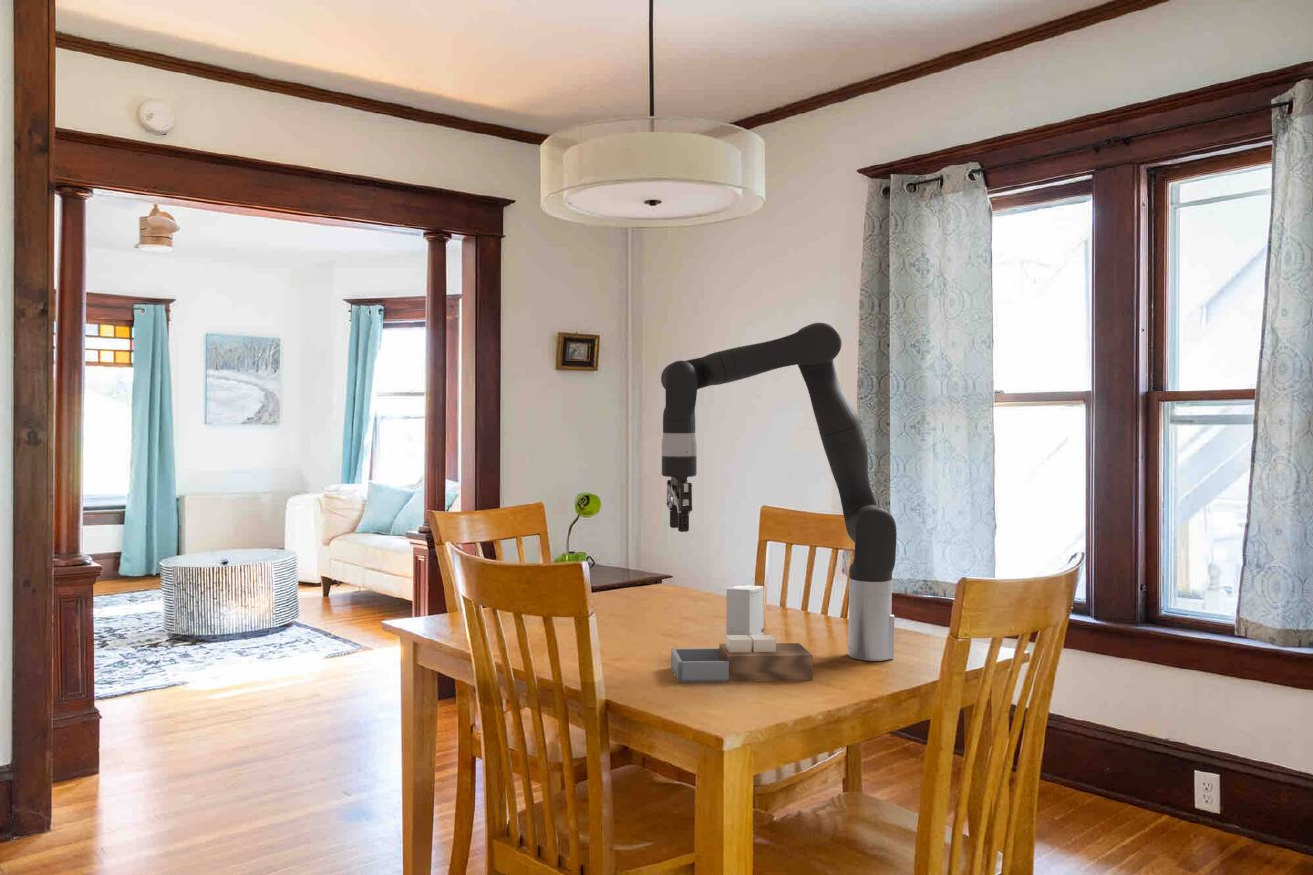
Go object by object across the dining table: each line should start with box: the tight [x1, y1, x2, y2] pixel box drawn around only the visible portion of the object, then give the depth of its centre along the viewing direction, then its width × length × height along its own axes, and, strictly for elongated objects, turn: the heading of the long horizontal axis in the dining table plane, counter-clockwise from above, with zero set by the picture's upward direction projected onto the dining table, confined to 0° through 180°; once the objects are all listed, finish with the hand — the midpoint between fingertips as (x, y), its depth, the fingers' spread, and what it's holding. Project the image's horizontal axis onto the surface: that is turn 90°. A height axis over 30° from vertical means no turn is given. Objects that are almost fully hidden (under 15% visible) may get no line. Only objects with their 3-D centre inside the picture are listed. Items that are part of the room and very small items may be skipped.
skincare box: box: [725, 584, 765, 637], centre depth 213 cm, size 8×6×15 cm
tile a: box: [750, 634, 777, 652], centre depth 194 cm, size 4×4×2 cm
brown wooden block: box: [718, 642, 814, 683], centre depth 195 cm, size 17×11×5 cm, turn 96°
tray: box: [670, 647, 729, 684], centre depth 193 cm, size 10×12×4 cm
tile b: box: [725, 634, 752, 652], centre depth 194 cm, size 4×4×2 cm
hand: (679, 529), depth 205 cm, fingers open, 8 cm apart
